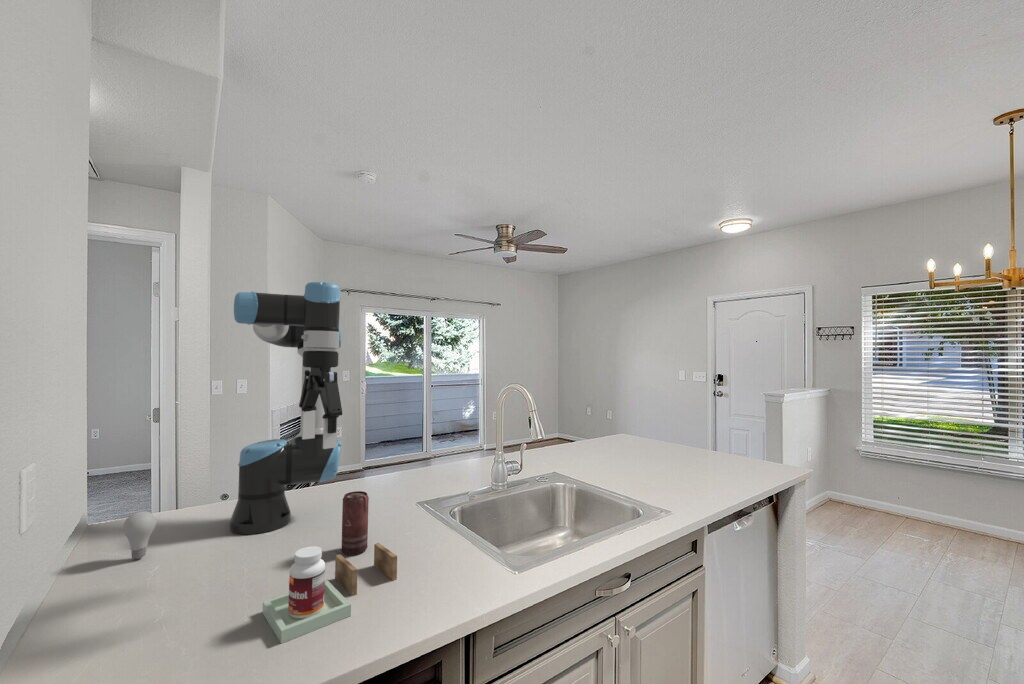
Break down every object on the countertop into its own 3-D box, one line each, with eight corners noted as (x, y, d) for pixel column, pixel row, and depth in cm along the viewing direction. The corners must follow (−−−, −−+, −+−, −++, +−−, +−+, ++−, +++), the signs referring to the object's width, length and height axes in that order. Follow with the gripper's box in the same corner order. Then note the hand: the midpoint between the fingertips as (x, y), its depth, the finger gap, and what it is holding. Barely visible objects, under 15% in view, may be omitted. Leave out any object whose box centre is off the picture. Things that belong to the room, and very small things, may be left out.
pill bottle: (280, 615, 81) (282, 555, 82) (307, 598, 87) (309, 542, 87) (305, 623, 79) (307, 561, 79) (331, 605, 85) (333, 547, 85)
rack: (334, 578, 96) (335, 555, 96) (377, 564, 103) (378, 542, 103) (352, 595, 89) (352, 570, 89) (396, 579, 96) (397, 556, 96)
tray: (262, 612, 83) (262, 601, 83) (326, 590, 91) (327, 579, 91) (281, 643, 74) (281, 631, 74) (350, 615, 82) (351, 604, 82)
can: (359, 557, 106) (361, 499, 106) (336, 554, 107) (337, 496, 108) (372, 546, 112) (374, 491, 112) (350, 544, 113) (351, 489, 114)
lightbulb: (114, 562, 102) (116, 514, 102) (144, 551, 108) (146, 506, 108) (131, 567, 100) (133, 518, 100) (161, 555, 105) (162, 509, 106)
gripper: (286, 349, 107) (284, 436, 107) (324, 349, 89) (321, 455, 88) (318, 350, 112) (316, 433, 112) (360, 350, 94) (357, 449, 94)
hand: (318, 443), depth 100 cm, fingers open, 13 cm apart
